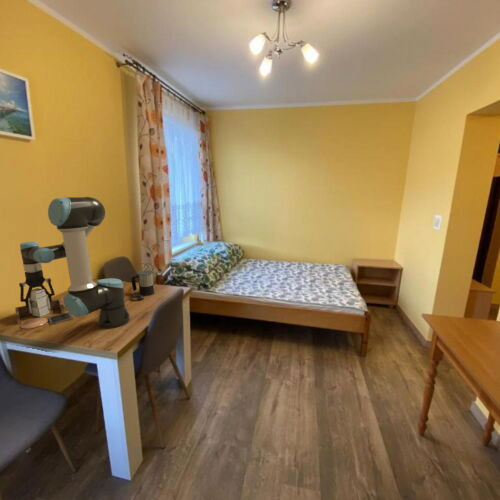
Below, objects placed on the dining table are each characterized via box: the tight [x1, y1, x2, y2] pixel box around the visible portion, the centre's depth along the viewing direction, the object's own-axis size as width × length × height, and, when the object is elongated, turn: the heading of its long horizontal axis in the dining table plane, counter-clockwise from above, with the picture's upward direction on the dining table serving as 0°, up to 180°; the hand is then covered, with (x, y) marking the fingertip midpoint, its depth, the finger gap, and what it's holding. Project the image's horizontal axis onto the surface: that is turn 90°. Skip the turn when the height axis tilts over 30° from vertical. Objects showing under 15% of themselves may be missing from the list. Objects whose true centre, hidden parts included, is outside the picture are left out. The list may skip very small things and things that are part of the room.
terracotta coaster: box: [20, 317, 49, 330], centre depth 141 cm, size 11×11×1 cm
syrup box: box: [29, 287, 50, 318], centre depth 150 cm, size 6×6×14 cm
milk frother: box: [130, 270, 155, 300], centre depth 178 cm, size 14×16×15 cm
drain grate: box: [47, 311, 74, 326], centre depth 147 cm, size 10×10×1 cm
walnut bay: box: [15, 298, 66, 325], centre depth 151 cm, size 12×20×5 cm, turn 131°
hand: (40, 310), depth 151 cm, fingers closed on syrup box, 7 cm apart
